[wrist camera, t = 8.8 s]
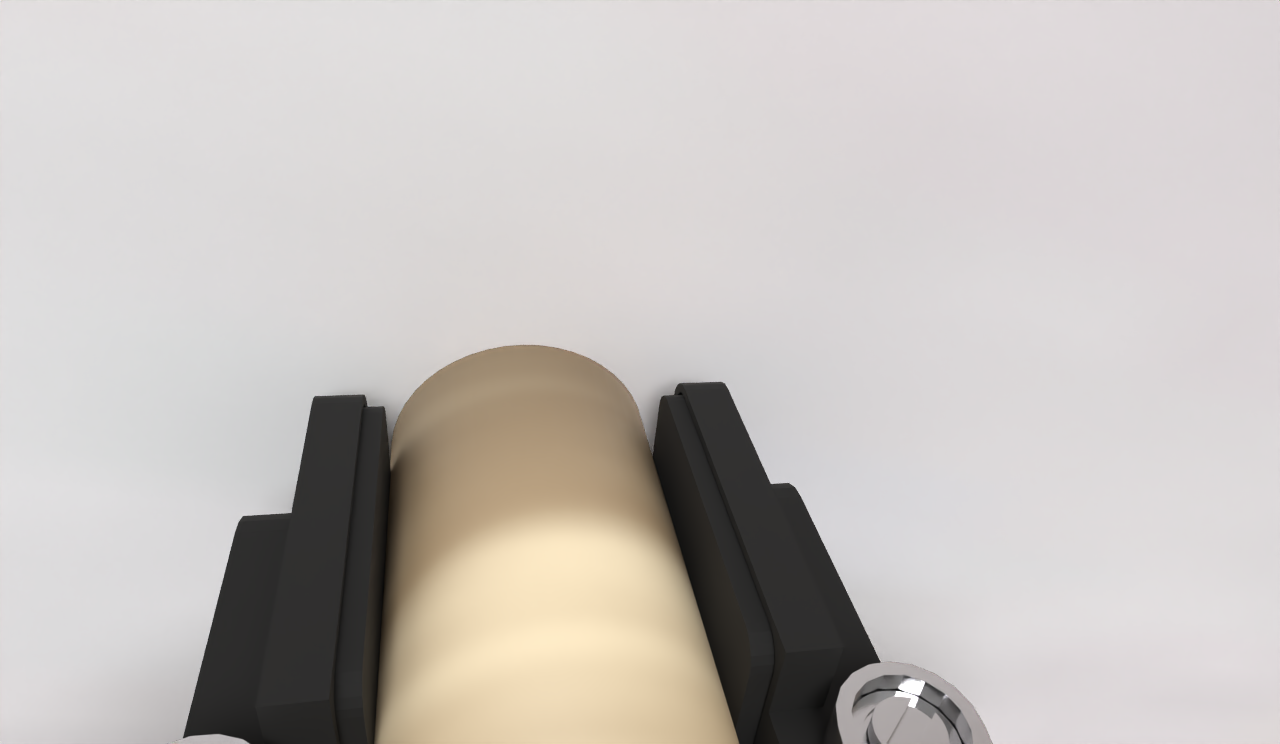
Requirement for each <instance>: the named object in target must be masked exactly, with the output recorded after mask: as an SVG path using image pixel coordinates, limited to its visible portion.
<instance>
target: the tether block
mask: <svg viewBox="0 0 1280 744" xmlns="http://www.w3.org/2000/svg"><path fill="white" fill-rule="evenodd" d="M390 468H391V479H390V495H389V511H388V527H387V544H386V560H385V576H384V592H383V608H382V624H381V641H380V657H379V673H378V689H377V705H376V722H375V738H374V744H739V741H738V738H737V734H736V731H735V728H734V724H733V721H732V718H731V715H730V711H729V708H728V705H727V701H726V698H725V695H724V691H723V688H722V685H721V681H720V678H719V675H718V672H717V668H716V665H715V662H714V658H713V655H712V652H711V648H710V645H709V642H708V638H707V635H706V632H705V629H704V625H703V622H702V619H701V615H700V612H699V609H698V605H697V602H696V599H695V595H694V592H693V589H692V586H691V582H690V579H689V576H688V572H687V569H686V566H685V562H684V559H683V556H682V552H681V549H680V546H679V543H678V539H677V536H676V533H675V529H674V526H673V523H672V519H671V516H670V513H669V509H668V506H667V503H666V500H665V496H664V493H663V490H662V486H661V483H660V480H659V476H658V473H657V470H656V466H655V463H654V460H653V457H652V453H651V450H650V447H649V443H648V440H647V437H646V433H645V430H644V427H643V423H642V420H641V417H640V414H639V410H638V407H637V405H636V403H635V401H634V399H633V397H632V395H631V394H630V392H629V391H628V390H627V388H626V387H625V386H624V384H623V383H622V382H621V381H620V380H619V379H618V378H617V377H616V376H615V375H614V374H612V373H611V372H610V371H608V370H607V369H606V368H604V367H603V366H602V365H600V364H598V363H596V362H595V361H593V360H591V359H589V358H587V357H584V356H582V355H579V354H577V353H574V352H571V351H567V350H563V349H559V348H554V347H547V346H539V345H516V346H504V347H499V348H494V349H488V350H485V351H481V352H478V353H475V354H471V355H469V356H466V357H464V358H462V359H460V360H457V361H455V362H453V363H451V364H449V365H448V366H446V367H444V368H443V369H441V370H439V371H438V372H437V373H435V374H434V375H433V376H431V377H430V378H429V379H427V380H426V381H425V382H424V383H423V384H422V385H421V386H420V387H419V388H418V389H417V390H416V391H415V392H414V393H413V394H412V396H411V397H410V398H409V400H408V401H407V402H406V404H405V405H404V407H403V409H402V411H401V413H400V415H399V416H398V419H397V422H396V425H395V428H394V431H393V437H392V443H391V459H390Z"/></svg>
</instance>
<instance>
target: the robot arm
mask: <svg viewBox="0 0 1280 744" xmlns="http://www.w3.org/2000/svg"><path fill="white" fill-rule="evenodd" d="M653 460H654V463H655V466H656V470H657V473H658V476H659V480H660V483H661V486H662V490H663V493H664V496H665V500H666V503H667V506H668V509H669V513H670V516H671V519H672V523H673V526H674V529H675V533H676V536H677V539H678V543H679V546H680V549H681V552H682V556H683V559H684V562H685V566H686V569H687V572H688V576H689V579H690V582H691V586H692V589H693V592H694V595H695V599H696V602H697V605H698V609H699V612H700V615H701V619H702V622H703V625H704V629H705V632H706V635H707V638H708V642H709V645H710V648H711V652H712V655H713V658H714V662H715V665H716V668H717V672H718V675H719V678H720V681H721V685H722V688H723V691H724V695H725V698H726V701H727V705H728V708H729V711H730V715H731V718H732V721H733V724H734V728H735V731H736V734H737V738H738V741H739V744H993V743H992V741H991V739H990V736H989V734H988V732H987V729H986V727H985V725H984V723H983V721H982V720H981V718H980V716H979V715H978V713H977V711H976V710H975V708H974V706H973V705H972V704H971V703H970V702H969V701H968V700H967V699H966V698H965V697H964V696H963V695H962V693H961V692H960V691H959V690H958V689H957V688H956V687H955V686H953V685H951V684H950V683H948V682H947V681H945V680H944V679H942V678H941V677H939V676H938V675H936V674H935V673H933V672H930V671H927V670H925V669H922V668H919V667H917V666H914V665H912V664H904V663H897V662H882V663H881V662H880V660H879V658H878V656H877V654H876V652H875V650H874V648H873V646H872V643H871V641H870V639H869V637H868V635H867V633H866V631H865V629H864V627H863V625H862V623H861V621H860V619H859V616H858V614H857V612H856V610H855V608H854V606H853V604H852V602H851V600H850V598H849V596H848V594H847V592H846V589H845V587H844V585H843V583H842V581H841V579H840V577H839V575H838V573H837V571H836V569H835V567H834V565H833V562H832V560H831V558H830V556H829V554H828V552H827V550H826V548H825V546H824V544H823V542H822V540H821V538H820V536H819V533H818V531H817V529H816V527H815V525H814V523H813V521H812V519H811V517H810V515H809V513H808V511H807V509H806V506H805V504H804V502H803V500H802V498H801V496H800V495H799V493H798V491H797V490H796V488H795V487H794V486H792V485H791V484H789V483H782V484H770V481H769V479H768V477H767V475H766V473H765V470H764V468H763V466H762V464H761V461H760V459H759V457H758V455H757V452H756V450H755V448H754V446H753V444H752V441H751V439H750V437H749V435H748V432H747V430H746V428H745V426H744V424H743V421H742V419H741V417H740V415H739V412H738V410H737V408H736V406H735V404H734V401H733V399H732V397H731V395H730V392H729V390H728V388H727V387H726V385H725V383H723V382H706V383H680V384H678V385H677V387H676V390H675V394H674V395H669V396H662V398H661V400H660V405H659V412H658V420H657V428H656V436H655V443H654V451H653ZM390 479H391V468H390V457H389V446H388V435H387V424H386V414H385V408H384V406H382V407H367V401H366V397H365V395H340V396H315V397H314V398H313V402H312V406H311V411H310V417H309V422H308V427H307V433H306V438H305V443H304V449H303V454H302V459H301V465H300V470H299V475H298V481H297V486H296V491H295V497H294V502H293V507H292V513H287V514H271V515H254V516H243V517H242V518H241V520H240V521H239V523H238V526H237V529H236V532H235V535H234V539H233V543H232V547H231V551H230V555H229V559H228V563H227V567H226V570H225V574H224V578H223V582H222V586H221V590H220V594H219V598H218V602H217V606H216V610H215V614H214V618H213V622H212V626H211V630H210V634H209V638H208V642H207V645H206V649H205V653H204V657H203V661H202V665H201V669H200V673H199V677H198V681H197V685H196V689H195V693H194V697H193V701H192V705H191V709H190V713H189V716H188V720H187V724H186V728H185V732H184V736H183V739H180V740H177V741H174V742H171V743H168V744H374V738H375V722H376V705H377V689H378V673H379V657H380V641H381V624H382V608H383V592H384V576H385V560H386V544H387V527H388V511H389V495H390Z"/></svg>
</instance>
